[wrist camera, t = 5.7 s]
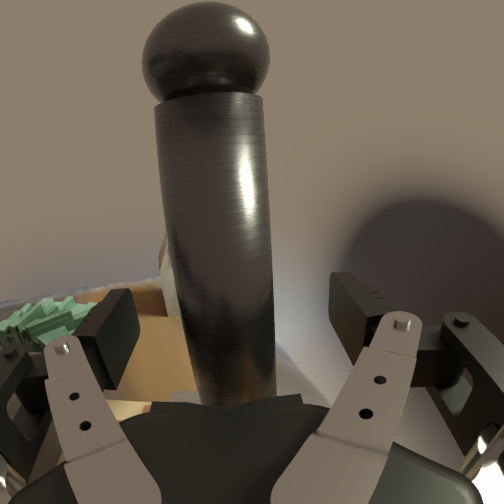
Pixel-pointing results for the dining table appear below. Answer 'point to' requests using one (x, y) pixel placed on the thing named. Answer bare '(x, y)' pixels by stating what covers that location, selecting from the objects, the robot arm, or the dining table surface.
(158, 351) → the dining table surface
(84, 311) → the money
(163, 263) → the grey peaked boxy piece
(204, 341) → the handle
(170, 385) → the dining table surface
